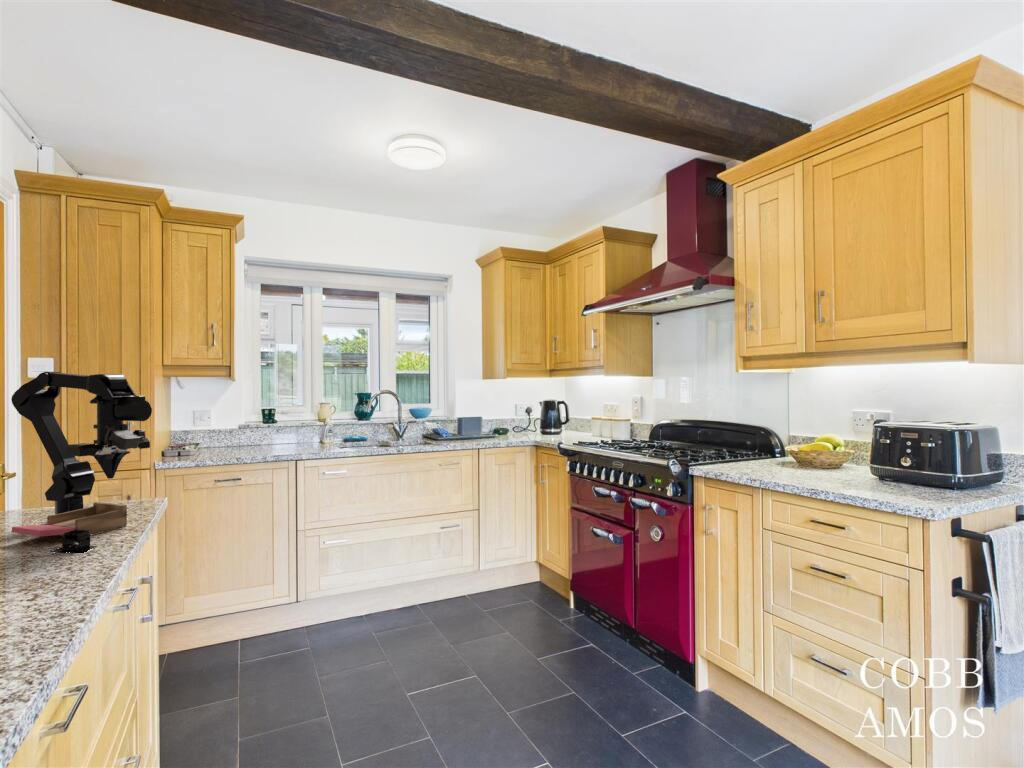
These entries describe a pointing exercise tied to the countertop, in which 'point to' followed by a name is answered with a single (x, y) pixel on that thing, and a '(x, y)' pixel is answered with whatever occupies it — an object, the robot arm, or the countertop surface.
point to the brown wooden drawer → (92, 518)
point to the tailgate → (41, 530)
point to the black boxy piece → (79, 537)
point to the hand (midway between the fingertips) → (110, 478)
